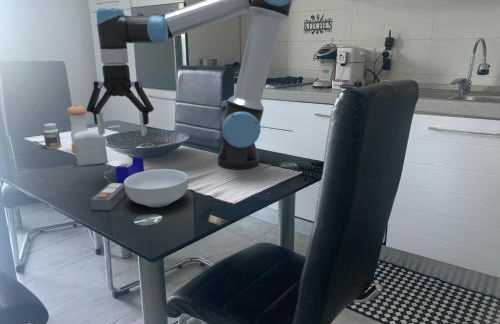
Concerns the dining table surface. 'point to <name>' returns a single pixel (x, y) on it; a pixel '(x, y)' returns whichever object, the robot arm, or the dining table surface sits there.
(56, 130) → the pill bottle
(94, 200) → the power strip
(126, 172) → the blue bridge block
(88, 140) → the photo printer
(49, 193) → the dining table surface
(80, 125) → the pepper shaker
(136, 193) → the cereal bowl
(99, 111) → the robot arm
